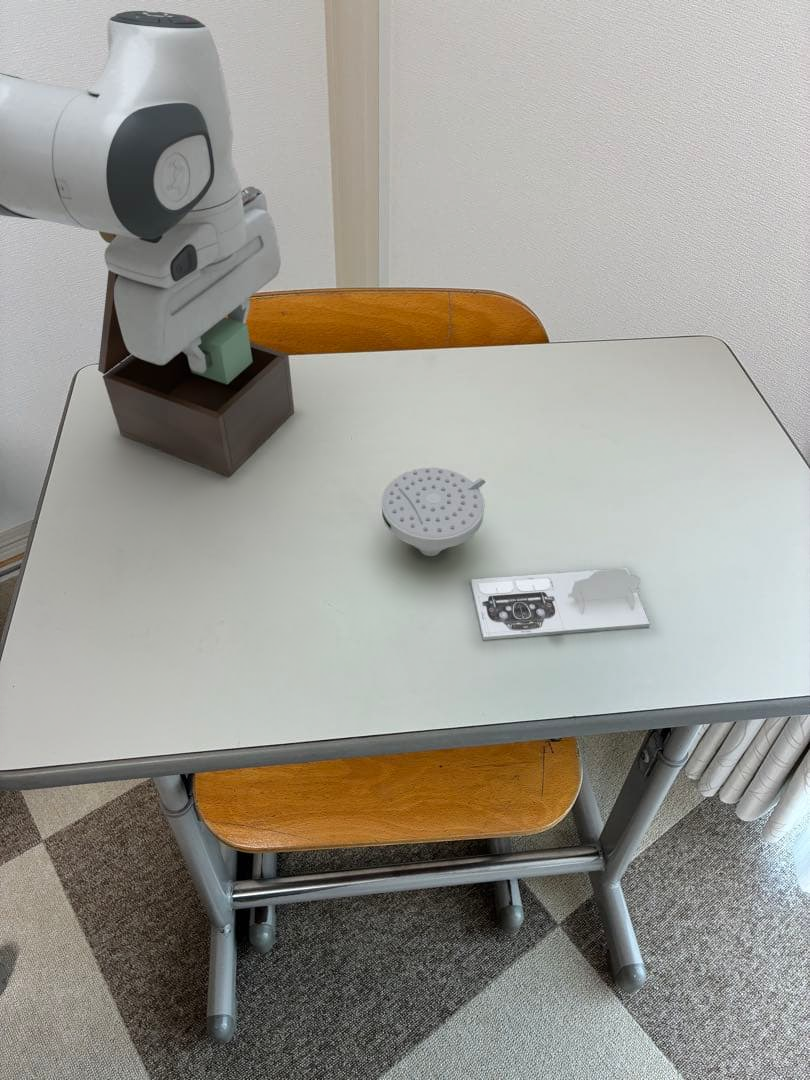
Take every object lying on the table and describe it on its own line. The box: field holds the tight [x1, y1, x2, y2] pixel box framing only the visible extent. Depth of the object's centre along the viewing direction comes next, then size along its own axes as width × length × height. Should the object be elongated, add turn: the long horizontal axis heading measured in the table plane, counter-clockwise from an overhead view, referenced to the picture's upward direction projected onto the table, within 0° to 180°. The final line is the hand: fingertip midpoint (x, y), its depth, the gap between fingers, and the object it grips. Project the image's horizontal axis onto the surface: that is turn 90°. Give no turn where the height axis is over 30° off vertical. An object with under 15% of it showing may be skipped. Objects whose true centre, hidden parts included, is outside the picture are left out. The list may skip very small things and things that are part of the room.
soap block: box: [191, 317, 253, 384], centre depth 81 cm, size 4×4×4 cm
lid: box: [97, 231, 132, 375], centre depth 80 cm, size 15×13×5 cm
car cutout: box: [470, 567, 651, 641], centre depth 71 cm, size 15×7×4 cm, turn 96°
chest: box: [102, 341, 295, 478], centre depth 87 cm, size 15×13×8 cm
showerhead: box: [381, 467, 486, 557], centre depth 75 cm, size 9×7×10 cm
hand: (219, 354), depth 81 cm, fingers closed on soap block, 4 cm apart
